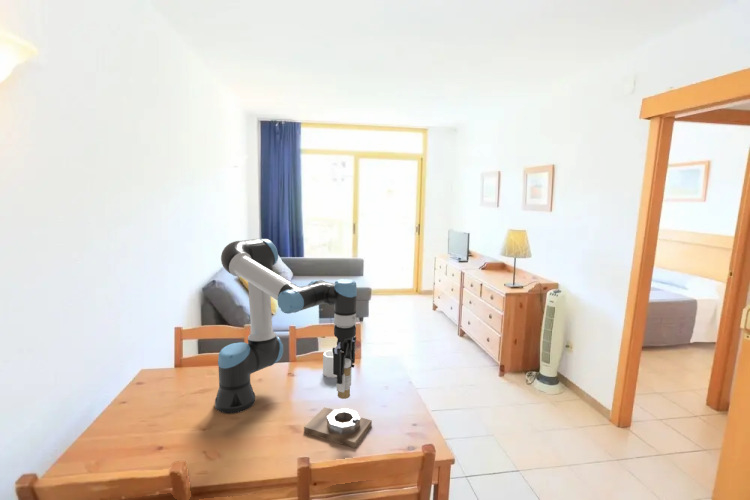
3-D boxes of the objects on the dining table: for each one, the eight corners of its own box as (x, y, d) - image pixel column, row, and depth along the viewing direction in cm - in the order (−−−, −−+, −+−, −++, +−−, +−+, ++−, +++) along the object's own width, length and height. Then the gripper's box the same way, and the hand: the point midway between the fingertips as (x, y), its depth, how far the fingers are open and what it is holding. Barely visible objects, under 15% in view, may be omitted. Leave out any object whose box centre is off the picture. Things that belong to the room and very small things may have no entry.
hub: (322, 429, 135) (322, 419, 134) (337, 413, 145) (337, 404, 144) (350, 437, 131) (350, 427, 130) (363, 420, 141) (363, 411, 140)
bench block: (304, 432, 136) (304, 426, 136) (324, 412, 149) (324, 407, 149) (354, 448, 129) (354, 442, 128) (371, 425, 141) (371, 420, 141)
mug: (321, 370, 184) (321, 351, 182) (339, 368, 186) (339, 349, 185) (325, 382, 172) (326, 361, 171) (344, 380, 175) (345, 359, 173)
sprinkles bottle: (337, 393, 138) (337, 357, 136) (350, 392, 139) (350, 357, 137) (337, 399, 134) (338, 363, 132) (350, 399, 134) (351, 363, 132)
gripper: (342, 334, 123) (341, 402, 126) (365, 318, 139) (364, 379, 142) (322, 330, 126) (322, 397, 129) (347, 315, 142) (346, 375, 145)
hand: (344, 387), depth 136 cm, fingers closed on sprinkles bottle, 4 cm apart
